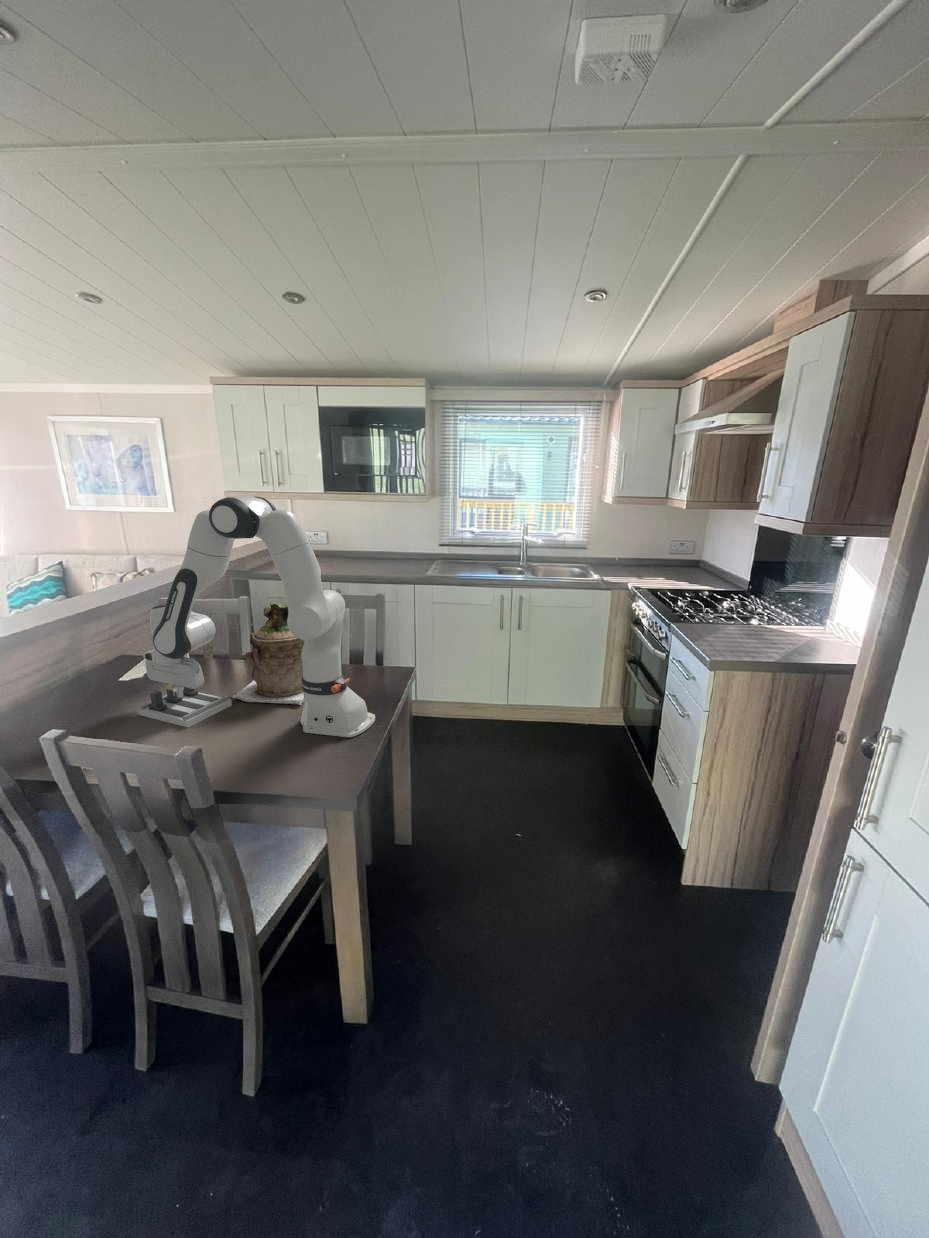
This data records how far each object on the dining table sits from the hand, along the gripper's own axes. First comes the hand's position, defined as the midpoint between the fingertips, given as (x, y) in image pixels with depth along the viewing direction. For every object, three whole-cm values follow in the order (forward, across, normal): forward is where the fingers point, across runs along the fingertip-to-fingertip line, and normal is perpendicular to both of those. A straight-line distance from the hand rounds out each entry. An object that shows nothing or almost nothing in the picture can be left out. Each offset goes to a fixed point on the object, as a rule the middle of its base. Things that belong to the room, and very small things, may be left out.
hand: (178, 696), depth 148 cm
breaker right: (+2, +2, -6) cm, 6 cm away
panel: (+4, -3, 0) cm, 5 cm away
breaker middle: (+2, +3, 0) cm, 3 cm away
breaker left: (+2, +2, +5) cm, 6 cm away
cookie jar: (+5, -19, -24) cm, 31 cm away
